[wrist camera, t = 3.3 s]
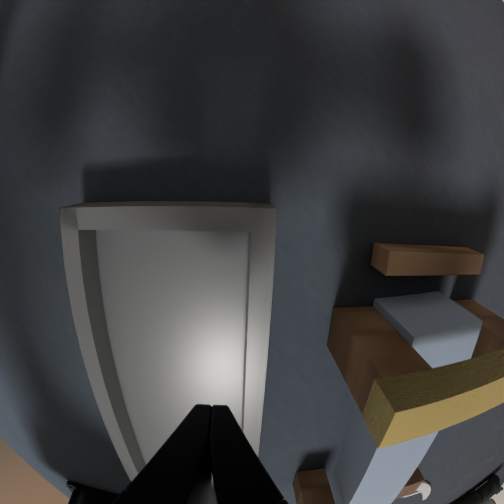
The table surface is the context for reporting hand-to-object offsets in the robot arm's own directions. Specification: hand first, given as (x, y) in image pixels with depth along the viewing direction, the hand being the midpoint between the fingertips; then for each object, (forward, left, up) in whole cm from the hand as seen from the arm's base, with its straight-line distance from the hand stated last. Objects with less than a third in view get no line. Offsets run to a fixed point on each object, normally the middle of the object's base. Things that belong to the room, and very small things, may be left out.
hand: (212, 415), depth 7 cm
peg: (+9, -7, -6) cm, 13 cm away
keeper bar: (+10, 0, 0) cm, 10 cm away
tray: (-2, -5, -6) cm, 8 cm away
